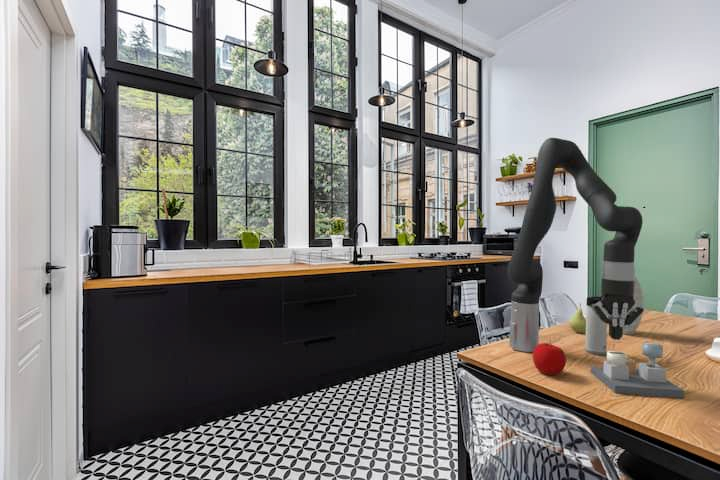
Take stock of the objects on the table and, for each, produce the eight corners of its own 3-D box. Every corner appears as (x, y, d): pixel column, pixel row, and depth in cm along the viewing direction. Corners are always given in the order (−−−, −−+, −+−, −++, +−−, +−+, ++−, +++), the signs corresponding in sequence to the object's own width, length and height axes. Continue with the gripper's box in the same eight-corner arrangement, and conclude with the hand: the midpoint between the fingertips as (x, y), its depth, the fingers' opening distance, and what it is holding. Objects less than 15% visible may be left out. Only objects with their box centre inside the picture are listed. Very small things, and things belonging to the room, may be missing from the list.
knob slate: (648, 369, 98) (648, 345, 98) (638, 363, 102) (639, 340, 102) (666, 370, 97) (666, 346, 97) (656, 364, 102) (656, 341, 101)
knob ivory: (611, 377, 100) (611, 354, 100) (603, 371, 104) (603, 349, 104) (628, 378, 99) (629, 355, 99) (620, 372, 103) (620, 350, 103)
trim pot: (623, 373, 104) (624, 356, 104) (618, 369, 107) (618, 353, 107) (635, 373, 103) (635, 357, 103) (629, 369, 106) (629, 354, 106)
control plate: (614, 393, 95) (615, 372, 95) (590, 372, 109) (591, 354, 109) (684, 398, 92) (684, 376, 92) (650, 376, 106) (650, 358, 106)
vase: (606, 327, 163) (607, 265, 162) (642, 331, 156) (643, 266, 155) (605, 333, 153) (606, 267, 152) (643, 338, 145) (645, 269, 145)
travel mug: (611, 356, 124) (612, 298, 124) (589, 354, 125) (590, 297, 125) (602, 350, 130) (603, 295, 130) (582, 349, 132) (583, 294, 131)
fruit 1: (573, 376, 106) (574, 343, 106) (548, 380, 104) (549, 345, 103) (548, 365, 115) (549, 334, 115) (525, 368, 112) (525, 336, 112)
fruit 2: (568, 332, 153) (569, 304, 153) (570, 329, 160) (570, 302, 159) (587, 335, 150) (587, 306, 149) (588, 331, 156) (588, 303, 155)
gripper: (597, 278, 98) (595, 341, 99) (652, 280, 96) (650, 344, 96) (586, 275, 106) (583, 333, 106) (636, 276, 103) (634, 336, 104)
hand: (615, 338), depth 101 cm, fingers closed
